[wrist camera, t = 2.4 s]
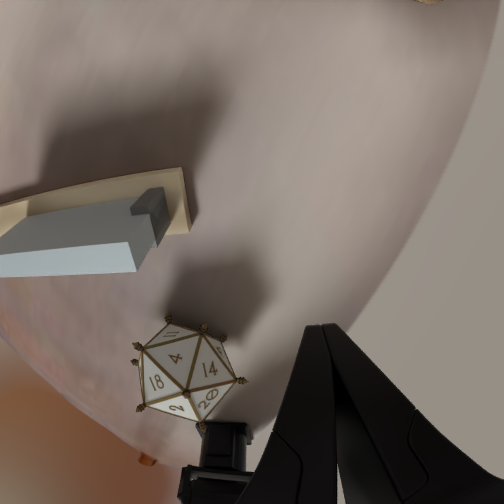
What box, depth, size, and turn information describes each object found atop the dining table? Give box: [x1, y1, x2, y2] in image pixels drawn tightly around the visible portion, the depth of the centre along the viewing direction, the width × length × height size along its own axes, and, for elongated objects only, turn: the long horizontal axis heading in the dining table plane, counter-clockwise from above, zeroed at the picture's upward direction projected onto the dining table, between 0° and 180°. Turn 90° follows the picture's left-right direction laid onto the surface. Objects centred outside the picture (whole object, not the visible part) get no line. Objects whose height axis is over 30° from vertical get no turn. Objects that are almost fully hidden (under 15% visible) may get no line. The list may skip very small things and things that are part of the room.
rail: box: [0, 167, 192, 237], centre depth 17 cm, size 4×26×4 cm, turn 95°
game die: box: [131, 314, 249, 433], centre depth 21 cm, size 9×8×10 cm
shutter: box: [0, 187, 171, 277], centre depth 15 cm, size 2×12×6 cm, turn 95°
